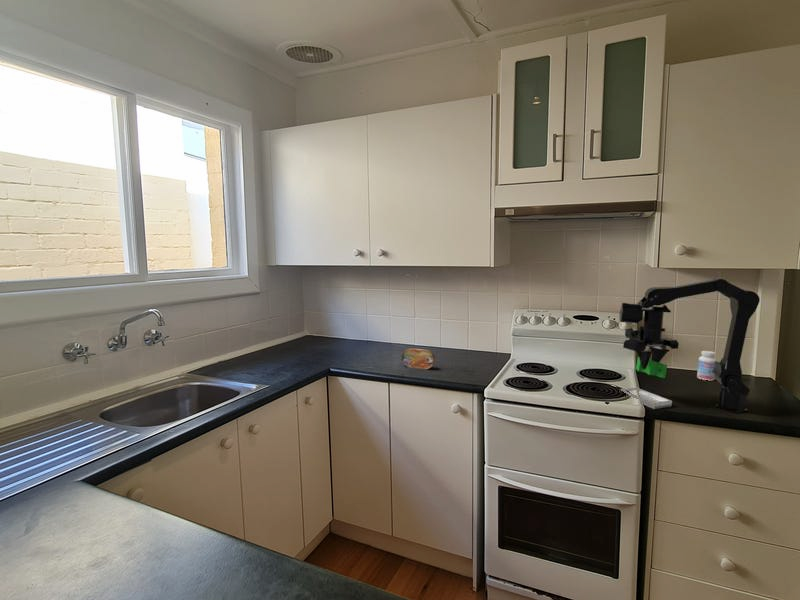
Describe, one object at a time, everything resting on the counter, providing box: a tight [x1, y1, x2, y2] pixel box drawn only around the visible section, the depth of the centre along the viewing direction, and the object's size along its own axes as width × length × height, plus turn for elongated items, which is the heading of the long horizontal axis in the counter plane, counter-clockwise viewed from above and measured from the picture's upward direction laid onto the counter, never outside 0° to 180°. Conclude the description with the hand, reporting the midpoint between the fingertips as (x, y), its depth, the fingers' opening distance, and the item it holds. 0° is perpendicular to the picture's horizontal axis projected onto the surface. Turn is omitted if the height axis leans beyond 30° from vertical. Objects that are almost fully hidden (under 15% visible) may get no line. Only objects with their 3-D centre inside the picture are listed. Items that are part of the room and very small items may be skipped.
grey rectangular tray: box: [619, 387, 673, 410], centre depth 153 cm, size 15×8×2 cm, turn 18°
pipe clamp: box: [635, 356, 668, 379], centre depth 153 cm, size 11×4×5 cm, turn 18°
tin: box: [401, 347, 436, 370], centre depth 192 cm, size 15×3×8 cm, turn 65°
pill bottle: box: [696, 350, 718, 382], centre depth 178 cm, size 6×6×11 cm
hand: (648, 368), depth 153 cm, fingers closed on pipe clamp, 4 cm apart
